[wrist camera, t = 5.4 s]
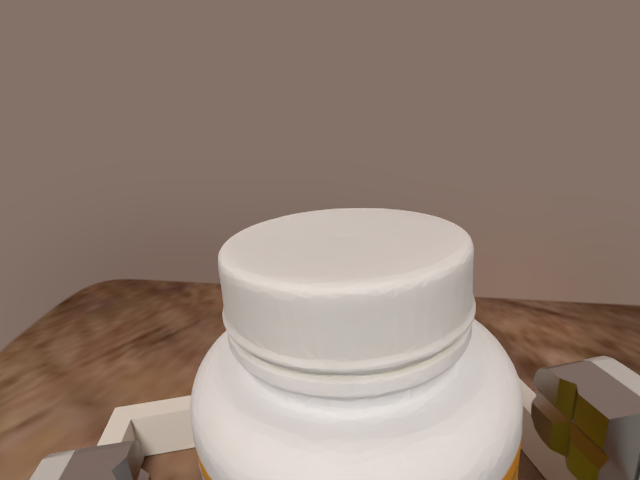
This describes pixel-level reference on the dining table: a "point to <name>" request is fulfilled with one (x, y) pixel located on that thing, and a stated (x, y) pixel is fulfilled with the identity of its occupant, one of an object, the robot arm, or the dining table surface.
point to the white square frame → (176, 434)
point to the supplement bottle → (354, 356)
